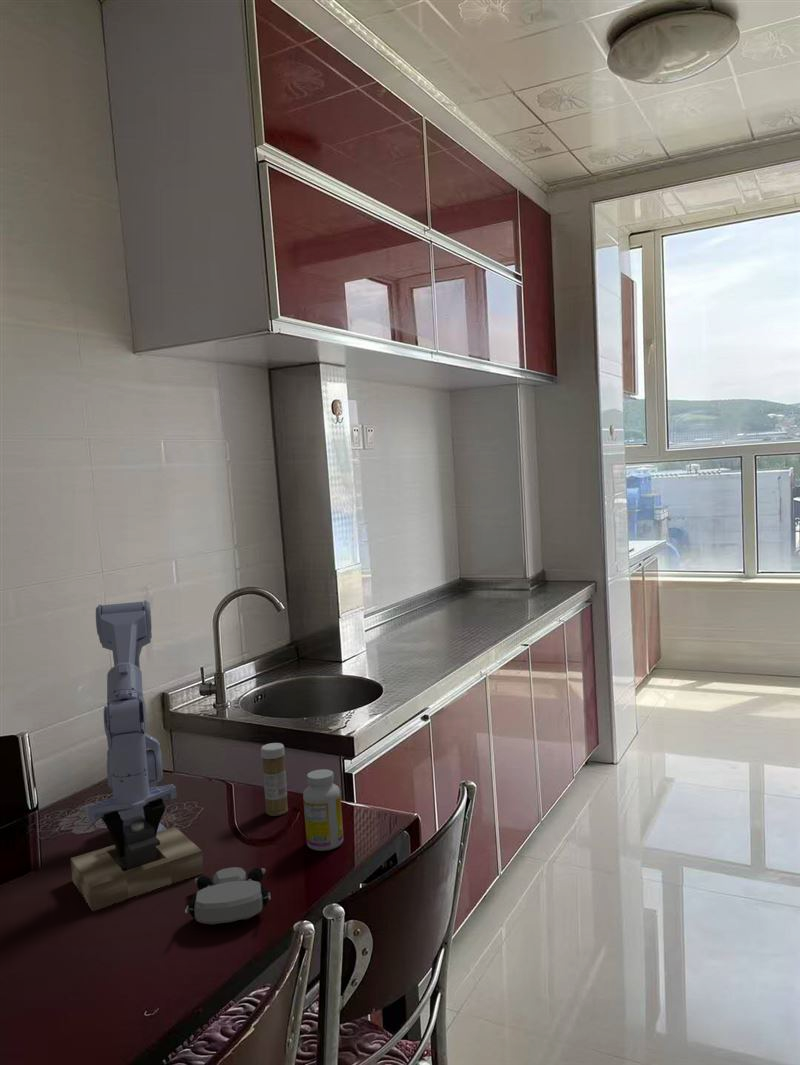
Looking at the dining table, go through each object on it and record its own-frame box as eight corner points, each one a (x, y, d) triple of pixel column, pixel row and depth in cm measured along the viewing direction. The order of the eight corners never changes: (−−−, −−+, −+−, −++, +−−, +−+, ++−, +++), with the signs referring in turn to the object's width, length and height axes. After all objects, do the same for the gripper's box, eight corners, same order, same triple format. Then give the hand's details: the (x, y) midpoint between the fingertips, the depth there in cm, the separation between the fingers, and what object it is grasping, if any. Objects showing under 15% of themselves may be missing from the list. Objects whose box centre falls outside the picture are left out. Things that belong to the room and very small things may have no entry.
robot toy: (192, 896, 127) (185, 940, 112) (190, 868, 127) (183, 908, 112) (269, 884, 129) (272, 926, 115) (267, 857, 129) (270, 894, 115)
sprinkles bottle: (281, 805, 160) (276, 740, 159) (292, 812, 156) (288, 745, 155) (261, 812, 157) (256, 746, 156) (272, 819, 153) (268, 751, 153)
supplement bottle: (332, 832, 146) (328, 764, 145) (350, 844, 140) (346, 773, 139) (300, 843, 142) (295, 773, 141) (317, 856, 136) (312, 783, 136)
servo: (113, 852, 136) (110, 813, 136) (139, 844, 139) (136, 806, 138) (134, 877, 126) (131, 836, 126) (162, 868, 129) (159, 827, 128)
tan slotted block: (72, 880, 133) (70, 858, 132) (176, 847, 143) (174, 826, 143) (92, 911, 122) (90, 887, 122) (203, 873, 133) (201, 850, 132)
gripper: (90, 789, 124) (97, 873, 125) (180, 766, 133) (186, 844, 133) (79, 777, 130) (86, 857, 131) (166, 756, 138) (171, 831, 139)
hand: (135, 850), depth 132 cm, fingers closed on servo, 4 cm apart
